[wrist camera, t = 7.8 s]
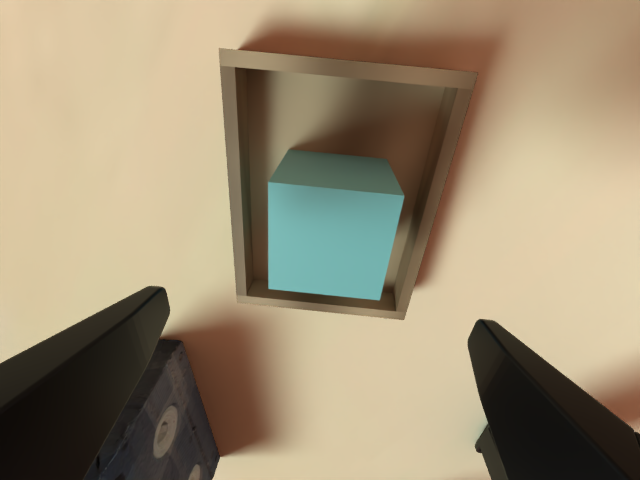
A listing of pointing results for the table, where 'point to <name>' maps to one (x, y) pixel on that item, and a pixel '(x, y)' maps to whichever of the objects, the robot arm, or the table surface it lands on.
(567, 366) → the table surface
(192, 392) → the vhs cassette tape
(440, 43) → the table surface
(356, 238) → the cube
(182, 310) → the table surface
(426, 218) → the tray
